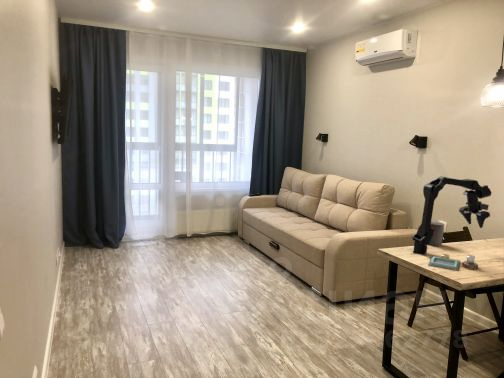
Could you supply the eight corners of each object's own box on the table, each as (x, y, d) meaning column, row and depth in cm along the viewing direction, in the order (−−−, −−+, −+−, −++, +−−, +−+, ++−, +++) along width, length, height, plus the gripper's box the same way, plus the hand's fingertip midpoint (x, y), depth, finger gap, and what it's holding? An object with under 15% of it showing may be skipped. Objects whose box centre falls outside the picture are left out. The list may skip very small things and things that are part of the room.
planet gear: (461, 267, 212) (462, 256, 211) (462, 264, 218) (463, 253, 217) (477, 270, 208) (479, 259, 207) (477, 266, 214) (479, 255, 213)
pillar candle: (425, 245, 252) (427, 221, 250) (424, 241, 261) (427, 218, 259) (442, 247, 249) (445, 223, 246) (441, 243, 258) (444, 220, 255)
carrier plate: (428, 265, 213) (428, 260, 212) (431, 256, 228) (432, 251, 228) (457, 271, 206) (458, 265, 206) (459, 261, 222) (460, 256, 221)
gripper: (497, 200, 229) (499, 226, 232) (473, 194, 247) (476, 219, 250) (479, 204, 228) (482, 231, 230) (457, 199, 246) (460, 223, 249)
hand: (475, 226), depth 240 cm, fingers open, 9 cm apart
